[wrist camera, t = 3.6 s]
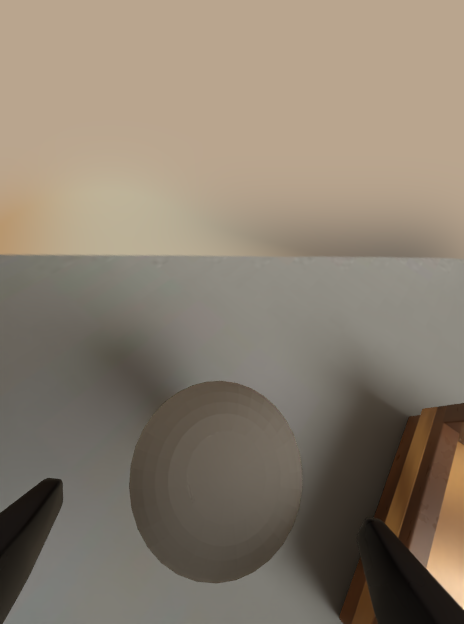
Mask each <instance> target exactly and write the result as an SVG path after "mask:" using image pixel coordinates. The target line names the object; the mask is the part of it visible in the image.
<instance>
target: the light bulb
mask: <svg viewBox="0 0 464 624" xmlns="http://www.w3.org/2000/svg"><path fill="white" fill-rule="evenodd" d="M129 489H130V498H131V508H132V511H133V515H134V518H135V521H136V525H137V528H138V530H139V532H140V534H141V536H142V538H143V539H144V541H145V543H146V545H147V547H148V548H149V549H150V550H151V552H152V553H153V554H154V555H155V556H156V557H157V558H158V560H159V561H160V562H161V563H162V564H164V565H165V566H167V567H168V568H169V569H171V570H172V571H174V572H175V573H176V574H178V575H181V576H183V577H186V578H189V579H191V580H194V581H198V582H208V583H221V582H227V581H233V580H237V579H239V578H242V577H244V576H246V575H248V574H250V573H253V572H255V571H256V570H257V569H258V568H260V567H261V566H262V565H264V564H265V563H266V562H268V561H269V560H270V559H271V558H272V557H273V555H274V554H275V553H276V552H277V551H278V550H279V548H280V547H281V546H282V545H283V543H284V541H285V540H286V538H287V536H288V534H289V533H290V531H291V529H292V527H293V524H294V522H295V519H296V516H297V513H298V510H299V506H300V500H301V494H302V465H301V459H300V453H299V449H298V446H297V443H296V440H295V437H294V435H293V432H292V431H291V429H290V427H289V425H288V423H287V421H286V419H285V418H284V417H283V415H282V414H281V413H280V412H279V410H278V409H277V408H276V407H275V406H274V405H273V404H272V403H271V402H270V401H269V400H268V399H267V398H265V397H264V396H263V395H261V394H260V393H258V392H256V391H255V390H253V389H251V388H249V387H246V386H243V385H240V384H238V383H232V382H225V381H213V382H204V383H200V384H196V385H193V386H190V387H188V388H186V389H184V390H182V391H180V392H178V393H177V394H175V395H174V396H172V397H171V398H170V399H168V400H167V401H166V402H165V403H164V404H163V405H162V406H161V407H160V408H159V409H158V410H157V411H156V412H155V413H154V414H153V415H152V417H151V419H150V420H149V422H148V423H147V425H146V426H145V428H144V429H143V431H142V433H141V436H140V438H139V440H138V442H137V445H136V447H135V451H134V455H133V459H132V463H131V469H130V483H129Z"/></svg>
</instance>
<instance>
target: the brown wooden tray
mask: <svg viewBox="0 0 464 624" xmlns="http://www.w3.org/2000/svg"><path fill="white" fill-rule="evenodd" d="M374 518H378V519H380V520H382V521H383V522H384V523H385V524H386V525H387V526H388V527H389V529H390V530H391V531H392V532H393V533H394V534H395V535H396V536H397V537H398V538H399V539H400V541H401V542H402V543H403V544H404V545H405V546H406V547H407V548H408V549H409V550H410V552H411V553H412V554H413V555H414V556H415V557H416V558H417V559H418V560H419V561H420V562H421V564H422V565H423V566H424V567H425V568H426V569H427V570H428V571H429V572H430V573H431V574H432V576H433V577H434V578H435V579H436V580H437V581H438V582H439V583H440V584H441V585H442V587H443V588H444V589H445V590H446V591H447V592H448V593H449V594H450V595H451V596H452V597H453V599H454V600H455V601H456V602H457V603H458V604H459V605H460V606H461V607H462V608H463V610H464V403H461V404H454V405H447V406H440V407H432V408H425V409H422V412H421V415H417V416H410V417H409V419H408V421H407V424H406V427H405V430H404V433H403V436H402V439H401V441H400V444H399V447H398V450H397V453H396V456H395V459H394V461H393V464H392V467H391V470H390V473H389V476H388V479H387V481H386V484H385V487H384V490H383V493H382V496H381V499H380V501H379V504H378V507H377V510H376V513H375V516H374ZM339 619H340V620H341V621H342V623H343V624H378V623H377V620H376V616H375V613H374V609H373V606H372V602H371V598H370V594H369V590H368V585H367V581H366V577H365V573H364V569H363V565H362V561H361V556H360V559H359V562H358V564H357V567H356V570H355V573H354V576H353V579H352V582H351V584H350V587H349V590H348V593H347V596H346V599H345V602H344V604H343V607H342V610H341V613H340V616H339Z"/></svg>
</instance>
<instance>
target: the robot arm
mask: <svg viewBox="0 0 464 624" xmlns="http://www.w3.org/2000/svg"><path fill="white" fill-rule="evenodd" d="M62 503H63V483H62V480H61V479H55V478H46V479H44V480H43V481H41V482H40V483H39V484H37V485H36V486H35V487H34V488H32V489H31V490H30V491H28V492H27V493H26V494H24V495H23V496H22V497H21V498H19V499H18V500H17V501H15V502H14V503H13V504H11V505H10V506H9V507H7V508H6V509H5V510H4V511H2V512H1V513H0V624H3V622H4V620H5V619H6V617H7V615H8V613H9V612H10V610H11V608H12V606H13V604H14V603H15V601H16V599H17V597H18V596H19V594H20V592H21V590H22V588H23V587H24V585H25V583H26V581H27V579H28V577H29V575H30V573H31V571H32V569H33V567H34V565H35V563H36V560H37V558H38V556H39V554H40V552H41V550H42V548H43V545H44V543H45V541H46V539H47V537H48V535H49V532H50V530H51V528H52V526H53V524H54V522H55V520H56V517H57V515H58V513H59V511H60V509H61V506H62ZM357 544H358V548H359V552H360V556H361V561H362V565H363V569H364V573H365V577H366V581H367V585H368V590H369V594H370V598H371V602H372V606H373V609H374V613H375V616H376V620H377V623H378V624H464V610H463V608H462V607H461V606H460V605H459V604H458V603H457V602H456V601H455V600H454V599H453V597H452V596H451V595H450V594H449V593H448V592H447V591H446V590H445V589H444V588H443V587H442V585H441V584H440V583H439V582H438V581H437V580H436V579H435V578H434V577H433V576H432V574H431V573H430V572H429V571H428V570H427V569H426V568H425V567H424V566H423V565H422V564H421V562H420V561H419V560H418V559H417V558H416V557H415V556H414V555H413V554H412V553H411V552H410V550H409V549H408V548H407V547H406V546H405V545H404V544H403V543H402V542H401V541H400V539H399V538H398V537H397V536H396V535H395V534H394V533H393V532H392V531H391V530H390V529H389V527H388V526H387V525H386V524H385V523H384V522H383V521H382V520H380V519H378V518H370V517H367V518H366V519H365V520H364V522H363V524H362V526H361V528H360V530H359V532H358V535H357Z"/></svg>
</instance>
